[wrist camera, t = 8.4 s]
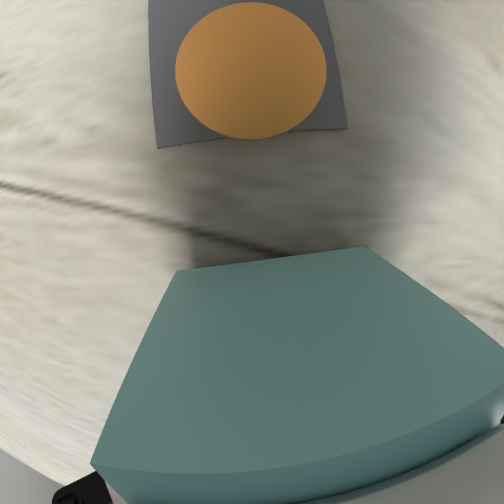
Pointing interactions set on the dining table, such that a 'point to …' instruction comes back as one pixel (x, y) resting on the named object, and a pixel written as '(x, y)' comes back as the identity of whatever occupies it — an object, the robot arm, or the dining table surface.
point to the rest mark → (167, 46)
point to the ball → (250, 70)
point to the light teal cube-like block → (295, 383)
